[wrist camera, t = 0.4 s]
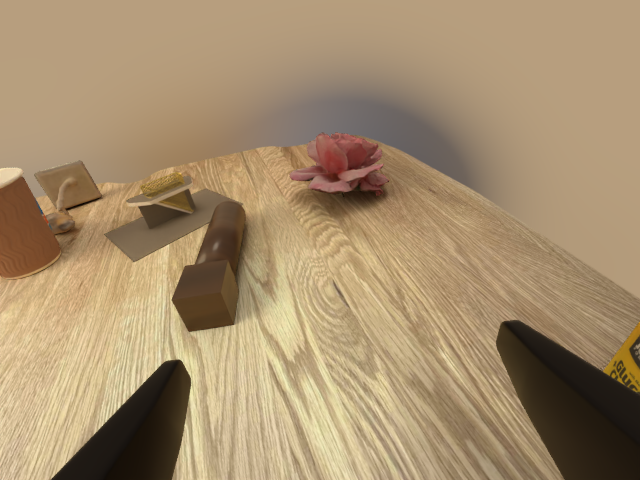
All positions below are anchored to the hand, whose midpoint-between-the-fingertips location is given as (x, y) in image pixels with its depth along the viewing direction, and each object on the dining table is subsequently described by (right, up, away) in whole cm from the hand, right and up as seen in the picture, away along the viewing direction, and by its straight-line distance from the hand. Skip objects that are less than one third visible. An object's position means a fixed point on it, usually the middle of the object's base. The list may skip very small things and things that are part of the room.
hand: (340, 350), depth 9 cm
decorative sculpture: (-45, +7, +45) cm, 64 cm away
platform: (-24, +6, +41) cm, 48 cm away
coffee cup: (-41, 0, +35) cm, 53 cm away
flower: (+3, +10, +42) cm, 43 cm away
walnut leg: (-12, 0, +30) cm, 32 cm away
